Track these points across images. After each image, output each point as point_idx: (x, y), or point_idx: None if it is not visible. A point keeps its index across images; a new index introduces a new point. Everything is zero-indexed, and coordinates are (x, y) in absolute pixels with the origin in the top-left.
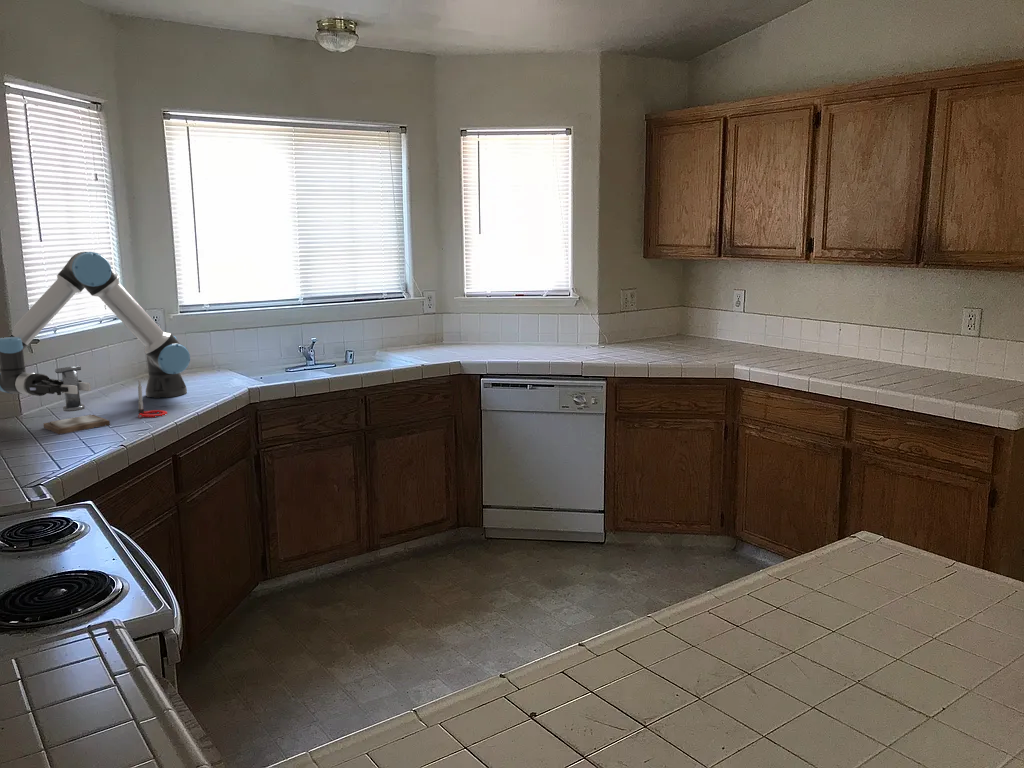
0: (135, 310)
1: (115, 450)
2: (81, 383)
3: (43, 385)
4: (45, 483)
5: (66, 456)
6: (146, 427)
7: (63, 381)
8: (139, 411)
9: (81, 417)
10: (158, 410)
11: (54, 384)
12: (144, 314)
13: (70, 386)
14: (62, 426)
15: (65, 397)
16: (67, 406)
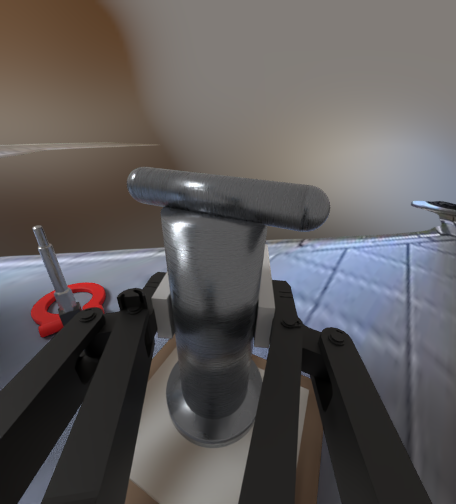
0: None
1: (321, 241)
2: None
3: (385, 472)
4: (435, 233)
5: (385, 264)
6: None
7: (259, 284)
8: (81, 310)
9: (153, 446)
10: (37, 305)
11: (273, 385)
12: None
13: (268, 264)
14: (305, 388)
15: (250, 360)
16: (248, 383)
